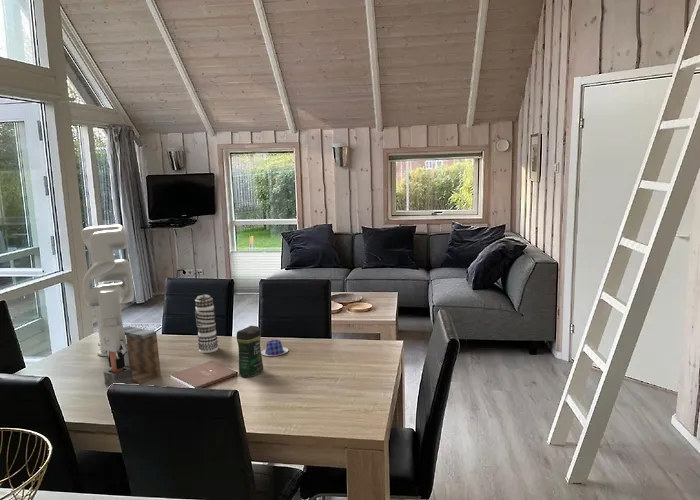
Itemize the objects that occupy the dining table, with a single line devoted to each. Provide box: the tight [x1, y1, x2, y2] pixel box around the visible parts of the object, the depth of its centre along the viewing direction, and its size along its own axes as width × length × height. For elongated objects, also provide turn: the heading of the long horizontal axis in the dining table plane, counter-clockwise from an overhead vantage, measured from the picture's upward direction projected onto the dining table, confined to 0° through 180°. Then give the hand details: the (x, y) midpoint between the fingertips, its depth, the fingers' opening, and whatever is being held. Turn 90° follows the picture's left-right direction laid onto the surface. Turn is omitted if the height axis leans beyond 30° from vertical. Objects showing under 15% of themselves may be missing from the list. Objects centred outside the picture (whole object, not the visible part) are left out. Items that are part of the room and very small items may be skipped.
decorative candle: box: [194, 294, 219, 354], centre depth 247 cm, size 9×9×25 cm
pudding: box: [261, 339, 289, 357], centre depth 241 cm, size 12×12×5 cm
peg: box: [110, 349, 123, 374], centre depth 213 cm, size 4×4×12 cm
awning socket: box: [103, 326, 162, 387], centre depth 217 cm, size 18×16×18 cm
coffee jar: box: [236, 325, 264, 378], centre depth 216 cm, size 10×8×19 cm
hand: (117, 366), depth 213 cm, fingers closed on peg, 4 cm apart
